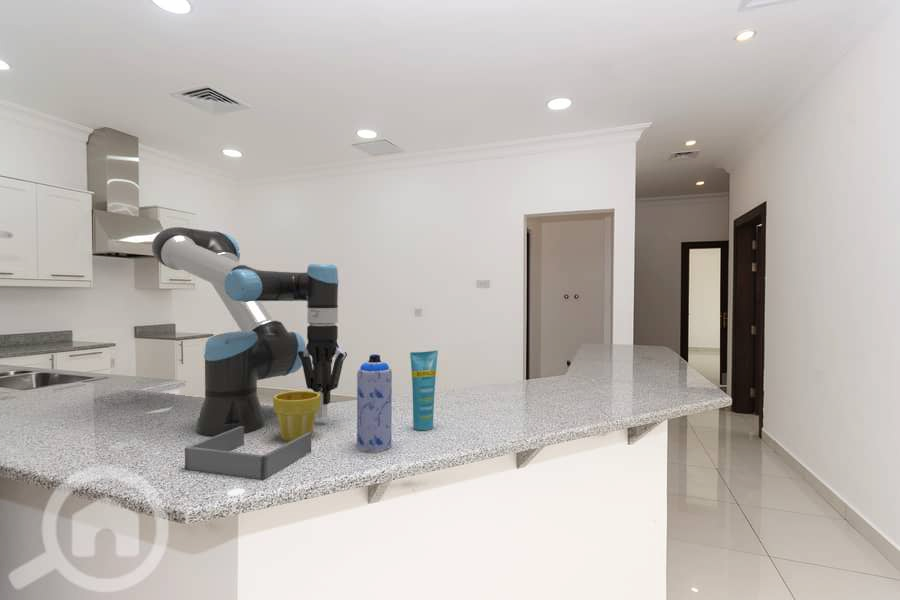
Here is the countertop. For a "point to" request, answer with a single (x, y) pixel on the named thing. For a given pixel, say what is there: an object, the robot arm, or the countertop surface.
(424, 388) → the tube
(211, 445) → the frame
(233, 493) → the countertop surface
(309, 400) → the plant pot
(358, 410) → the aerosol can
